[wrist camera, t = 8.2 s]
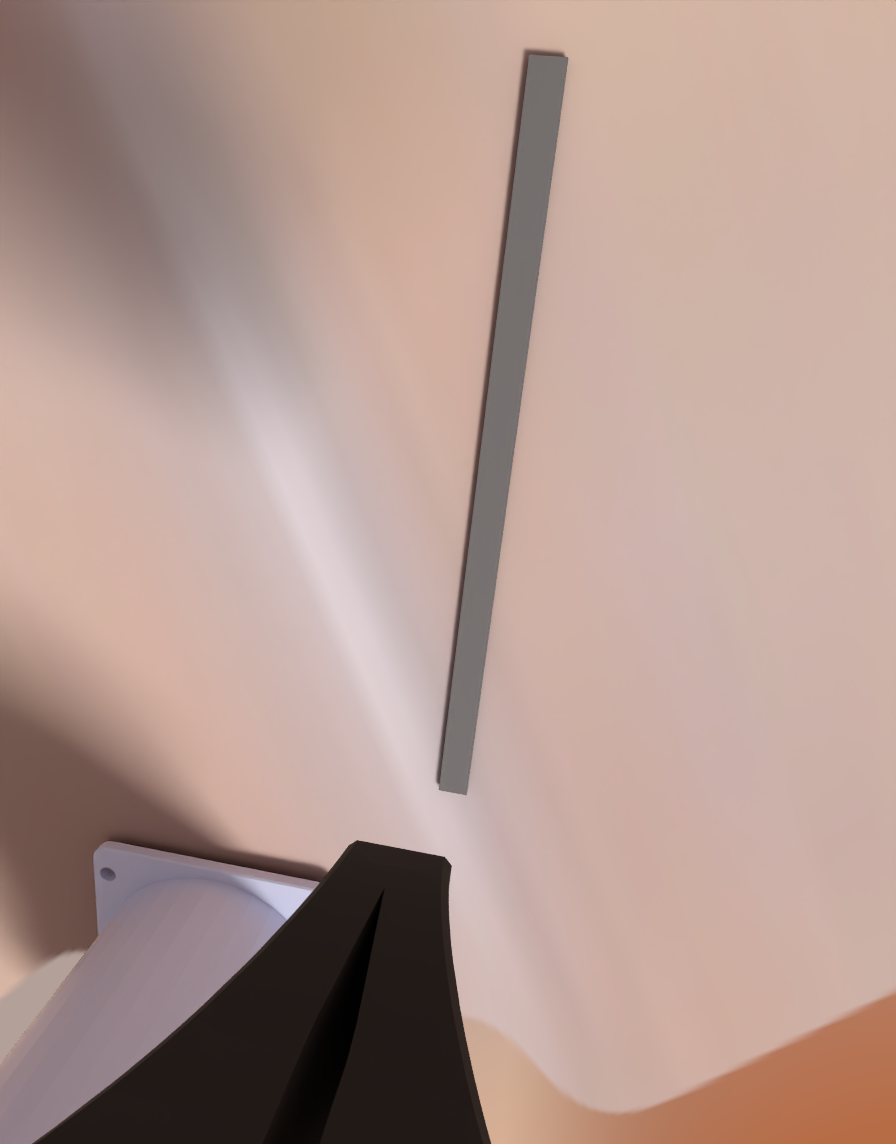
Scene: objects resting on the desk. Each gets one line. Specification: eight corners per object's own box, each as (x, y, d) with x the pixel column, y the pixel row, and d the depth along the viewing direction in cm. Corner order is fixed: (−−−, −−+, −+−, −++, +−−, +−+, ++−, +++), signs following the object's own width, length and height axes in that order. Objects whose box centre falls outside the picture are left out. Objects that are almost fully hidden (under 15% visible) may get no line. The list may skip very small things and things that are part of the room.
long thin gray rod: (467, 791, 21) (466, 795, 21) (439, 786, 21) (438, 789, 21) (567, 60, 15) (567, 57, 15) (529, 56, 15) (529, 53, 15)
